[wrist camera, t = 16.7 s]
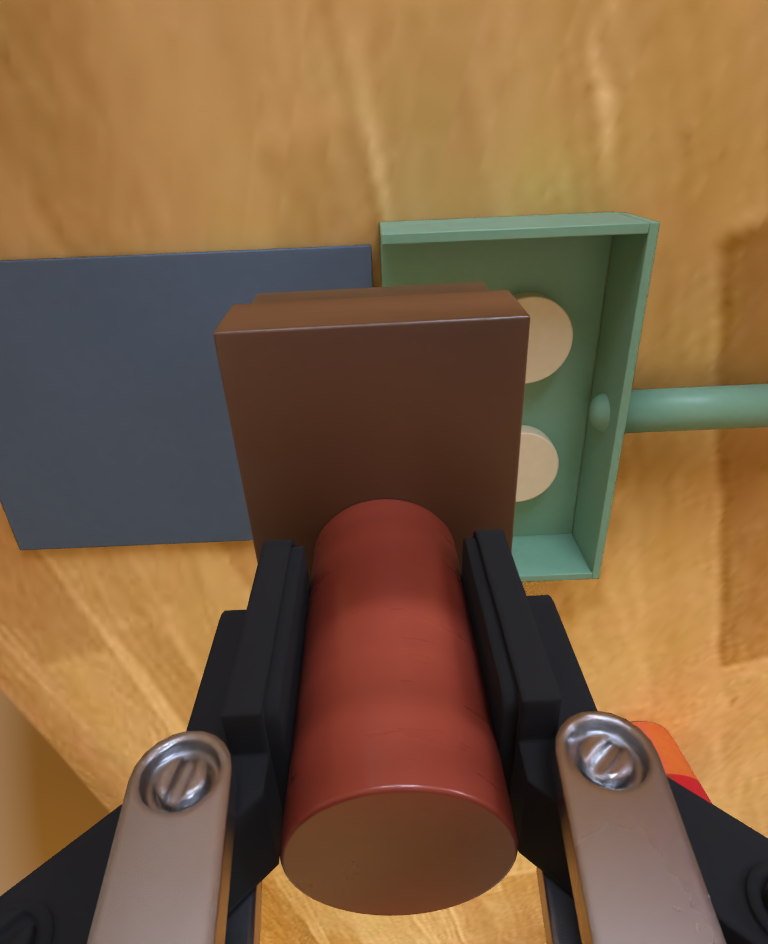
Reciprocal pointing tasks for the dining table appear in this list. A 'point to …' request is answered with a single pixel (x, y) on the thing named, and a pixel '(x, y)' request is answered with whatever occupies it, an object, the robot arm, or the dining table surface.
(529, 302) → the crumb
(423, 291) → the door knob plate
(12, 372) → the scrub mat
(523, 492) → the crumb
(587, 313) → the dustpan
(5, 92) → the dining table surface
